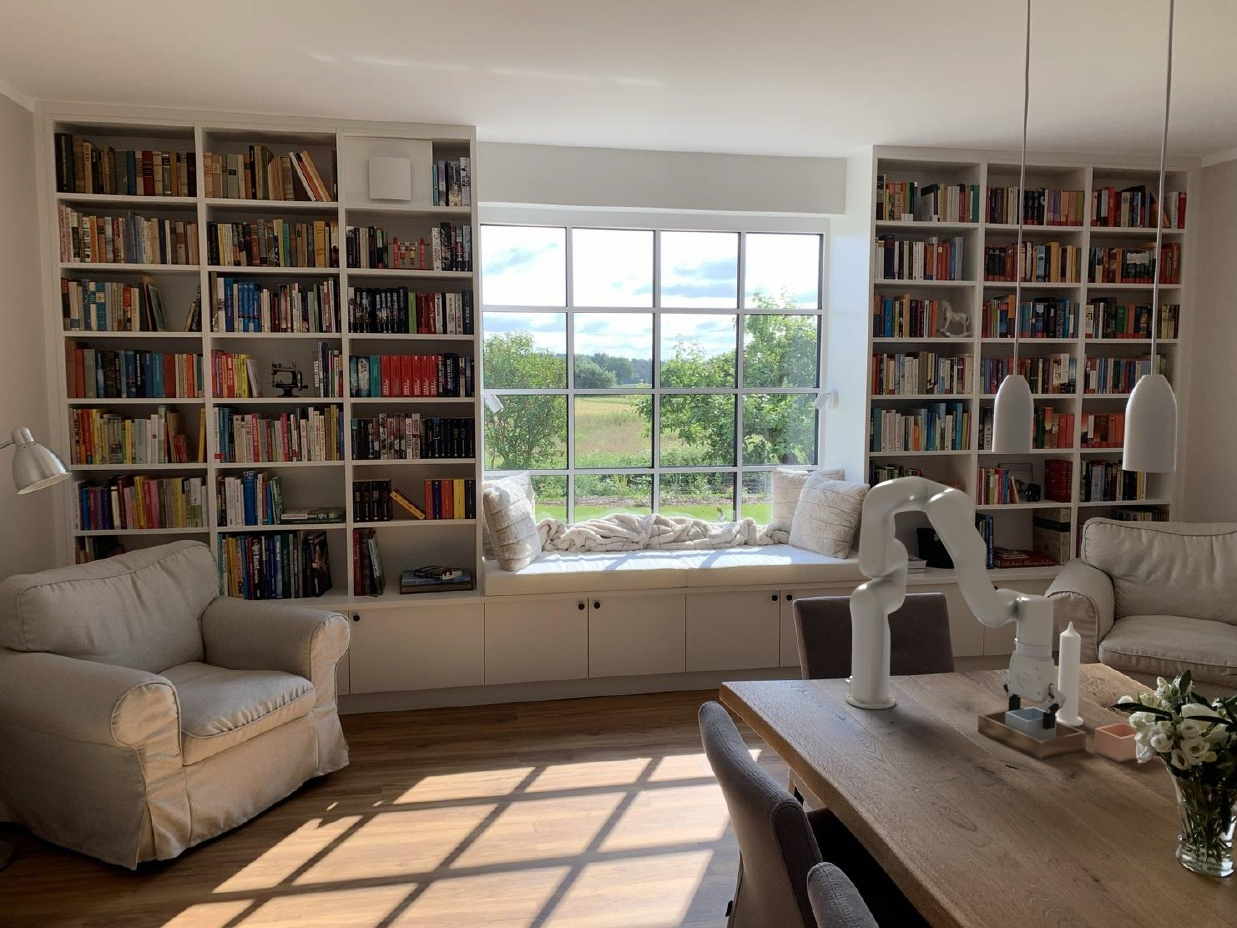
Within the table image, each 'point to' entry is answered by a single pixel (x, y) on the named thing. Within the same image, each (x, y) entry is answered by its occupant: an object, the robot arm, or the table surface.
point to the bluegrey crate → (1030, 723)
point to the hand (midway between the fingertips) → (1031, 721)
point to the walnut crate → (1062, 744)
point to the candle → (1069, 676)
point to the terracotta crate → (1115, 742)
